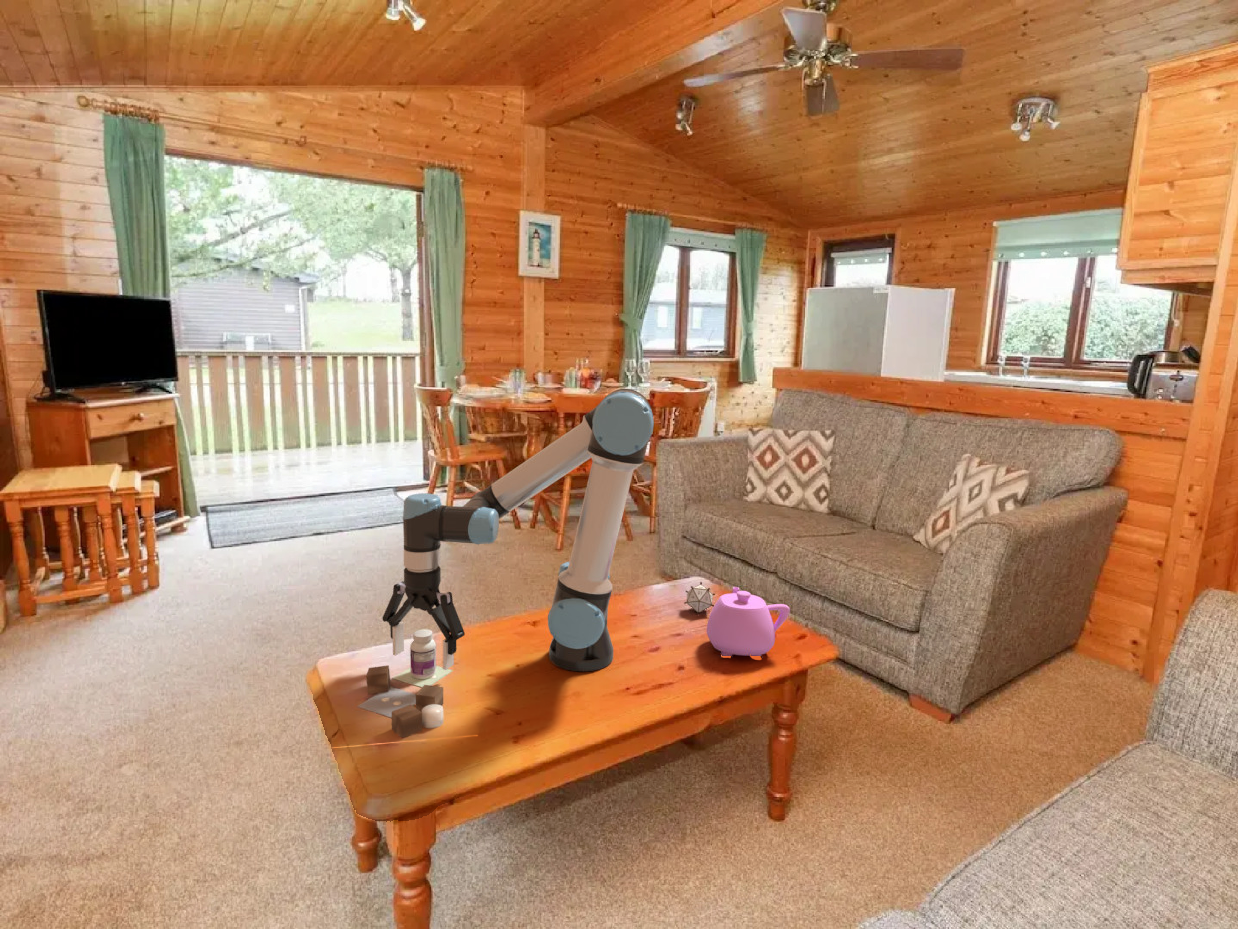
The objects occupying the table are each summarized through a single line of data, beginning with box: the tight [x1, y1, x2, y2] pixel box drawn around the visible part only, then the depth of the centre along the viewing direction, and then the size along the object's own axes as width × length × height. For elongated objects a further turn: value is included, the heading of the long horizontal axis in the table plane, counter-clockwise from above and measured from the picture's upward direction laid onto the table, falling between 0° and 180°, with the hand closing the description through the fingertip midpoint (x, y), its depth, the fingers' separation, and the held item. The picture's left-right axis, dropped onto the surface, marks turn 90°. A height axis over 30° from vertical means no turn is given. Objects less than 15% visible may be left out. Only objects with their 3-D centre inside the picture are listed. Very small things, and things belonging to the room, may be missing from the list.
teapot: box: [706, 586, 791, 657], centre depth 171 cm, size 20×20×15 cm
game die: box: [683, 581, 716, 613], centre depth 193 cm, size 9×8×10 cm
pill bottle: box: [409, 628, 437, 679], centre depth 150 cm, size 5×5×10 cm
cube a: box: [415, 685, 444, 712], centre depth 137 cm, size 4×4×4 cm
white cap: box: [422, 704, 444, 729], centre depth 132 cm, size 4×4×3 cm
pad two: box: [357, 685, 417, 719], centre depth 139 cm, size 9×9×1 cm
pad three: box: [392, 665, 454, 689], centre depth 151 cm, size 9×9×1 cm
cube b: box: [391, 704, 423, 739], centre depth 129 cm, size 4×4×4 cm
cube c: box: [365, 665, 391, 695], centre depth 144 cm, size 4×4×4 cm
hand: (422, 660), depth 150 cm, fingers open, 13 cm apart
